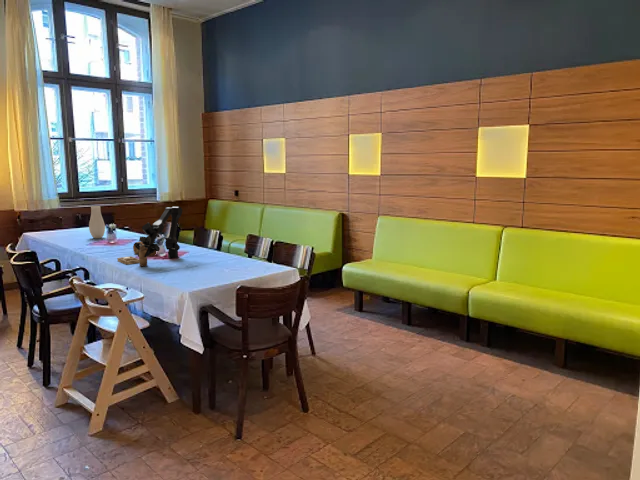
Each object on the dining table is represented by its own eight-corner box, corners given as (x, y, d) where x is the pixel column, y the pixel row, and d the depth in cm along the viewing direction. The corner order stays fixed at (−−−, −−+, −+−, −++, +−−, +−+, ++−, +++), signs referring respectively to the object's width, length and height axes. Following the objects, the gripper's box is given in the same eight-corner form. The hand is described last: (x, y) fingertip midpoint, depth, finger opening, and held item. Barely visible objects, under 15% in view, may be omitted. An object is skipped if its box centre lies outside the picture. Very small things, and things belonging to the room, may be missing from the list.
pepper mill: (146, 264, 344) (145, 244, 341) (148, 265, 340) (147, 245, 337) (138, 265, 341) (137, 245, 338) (140, 266, 337) (139, 246, 334)
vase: (106, 238, 457) (104, 206, 452) (90, 239, 450) (88, 207, 445) (104, 236, 469) (102, 205, 464) (89, 237, 462) (86, 206, 457)
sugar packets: (128, 260, 357) (128, 257, 356) (130, 260, 355) (130, 257, 354) (122, 261, 354) (122, 257, 353) (124, 261, 352) (124, 258, 351)
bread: (133, 254, 383) (132, 241, 382) (145, 252, 392) (144, 240, 390) (146, 257, 372) (145, 244, 370) (158, 255, 380) (157, 242, 378)
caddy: (131, 259, 361) (130, 256, 360) (140, 263, 349) (140, 259, 349) (117, 261, 354) (117, 258, 353) (126, 265, 342) (126, 261, 342)
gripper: (134, 231, 343) (124, 249, 335) (156, 232, 337) (146, 251, 328) (143, 240, 352) (133, 258, 343) (164, 242, 345) (154, 260, 337)
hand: (141, 256), depth 338 cm, fingers closed on pepper mill, 5 cm apart
